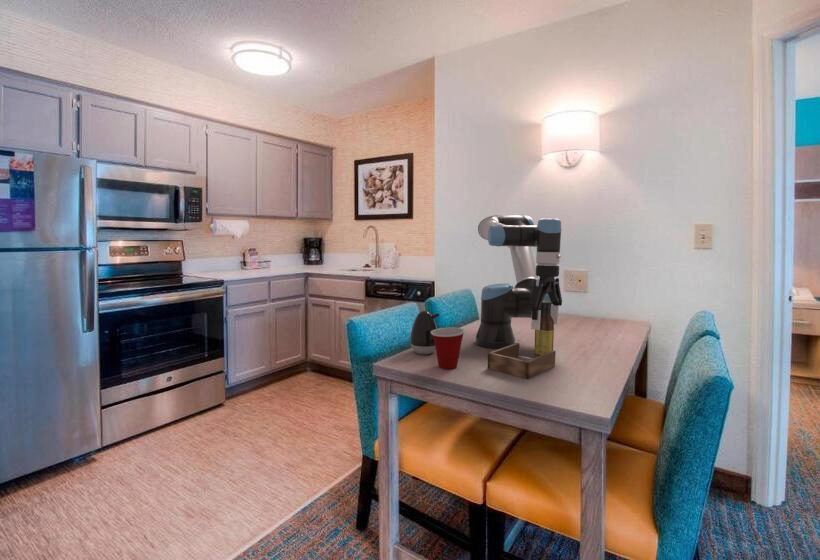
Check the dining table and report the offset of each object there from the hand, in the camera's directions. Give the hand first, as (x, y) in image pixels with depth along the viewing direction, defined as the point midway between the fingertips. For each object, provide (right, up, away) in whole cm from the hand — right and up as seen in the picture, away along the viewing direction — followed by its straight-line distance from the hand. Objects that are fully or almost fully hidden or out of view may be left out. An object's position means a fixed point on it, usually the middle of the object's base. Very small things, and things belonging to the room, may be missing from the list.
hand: (544, 326), depth 144 cm
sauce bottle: (0, -11, +1) cm, 11 cm away
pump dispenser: (-41, -10, +6) cm, 43 cm away
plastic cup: (-35, -12, -10) cm, 38 cm away
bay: (-11, -12, -9) cm, 18 cm away
